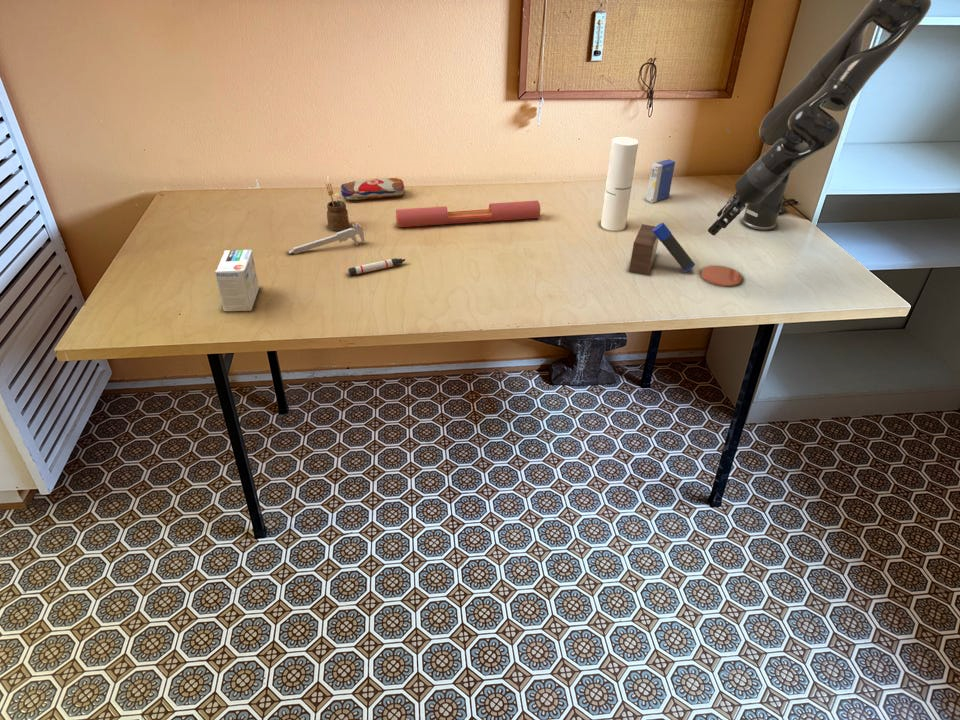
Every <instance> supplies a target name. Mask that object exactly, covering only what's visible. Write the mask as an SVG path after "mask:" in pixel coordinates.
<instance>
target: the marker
mask: <svg viewBox="0 0 960 720" xmlns="http://www.w3.org/2000/svg"><path fill="white" fill-rule="evenodd" d="M405 261H406V258H397V257H395V258H390V259H384V260H381V261H376V262H371V263H366V264H362V265H357V266H353V267H348V269H347V271H348V274H349V276H355V275H360V274H366V273H370V272H375V271H378V270H384V269H388V268H393V267H396V266H399V265H400V264H403V263H404V262H405Z"/></svg>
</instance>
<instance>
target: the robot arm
mask: <svg viewBox="0 0 960 720" xmlns="http://www.w3.org/2000/svg"><path fill="white" fill-rule="evenodd" d="M931 6H932V0H869V1H868V3H867V4H866V5H865V6H864V8H863V9H862V10H861V11H860V13H858V15H857V16H856V17H855V19H854V20H853V22H852V23H851V24H850V25H849V27H848V28H847V29H846V30H845V31H844V32H843V34H841V36H840V37H839V38H838V39H836V41H835V42H834V43H833V44H832V45H831V46H830V47H829V48H828V49H827V51H826V52H825V53H824V54H823V55H822V56H821V57H820V58H819V59H818V60H817V62H815V64H814V65H813V66H812V67H811V68H810V69H809V71H808V72H807V73H806V74H805V75H804V76H803V78H802V79H801V80H800V81H799V82H798V83H797V84H796V85H795V86H794V87H793V88H792V89H791V91H790V92H789V93H787V95H785V97H784V98H783V99H781V100H780V101H779V102H778V103H777V104H776V105H775V106H773V107H772V108H771V109H770V110H769V111H768V112H767V113H766V114H765V116H764V117H763V119H762V120H761V122H760V125H759V130H758V135H759V139H760V141H761V142H762V143H763V144H765V145H768V146H771V147H769V148H768V149H767V150H766V152H763V153H762V154H761V155H760V156H759V157H758V158H757V160H756V161H754V162H753V164H751V166H750V167H748V169H746V171H744V173H742V175H741V176H740V177H739V178H738V179H737V180H736V181H735V183H734V189H735V191H734V192H733V194H732V195H731V196H730V197H729V198H728V200H727V201H726V204H725V205H724V206H723V207H722V208H721V209H720V210H719V211H718V212H717V213H716V216H717V218H716V220H715V221H714V222H713V223H712V224H711V225H710V226H709V228H708V229H707V232H708V233H709V234H710V235H712V236H716V235H717V234H718V233H719V232H720V231H721V230H722V229H726V228H727V227H728V226H729V225H730V224H731V223H732V222H733V221H734V220H735V219H736V218H737V217H738V216H739V215H740V214H741V213H742V212H743V211H744V210H745V211H744V213H743V217H742V220H741V222H742V224H743V225H744V226H745V227H748V228H750V229H754V230H756V231H757V230H758V231H770V230H774V229H775V228H776V226H777V221H778V217H779V216H781V215H783V214H785V213H786V212H787V208H786V207H785V206H784V205H785V204H786V203H794V204H796V205H797V204H799V201H798V200H797V201H795V199H796V198H787V199H785V200H784V197H785V194H786V191H787V187H788V183H789V180H790V177H791V172H792V171H793V169H795V168H796V167H797V166H798V165H799V164H800V163H801V162H803V161H804V160H806V159H808V158H809V157H810V156H811V157H812V155H814V154H816V153H818V152H819V151H821V150H823V149H825V148H827V147H828V146H830V145H832V144H833V143H834V141H836V139H837V138H838V136H839V135H840V132H841V123H840V122H839V120H838V119H836V118H835V117H834V116H832V115H831V114H829V112H828V111H826V110H825V109H827V110H830V111H832V112H843V111H845V110H846V109H848V107H849V106H850V105H852V102H854V100H855V99H856V98H857V96H858V95H859V93H860V92H861V90H862V89H863V88H864V86H865V85H866V83H868V81H869V80H870V79H871V77H872V76H873V75H874V74H875V73H876V72H877V71H878V70H879V69H880V67H881V66H883V64H885V63H886V62H887V60H888V59H889V58H890V57H891V56H892V55H893V54H894V53H895V52H896V50H897V49H898V48H899V47H900V46H901V45H902V44H903V43H904V42H905V40H906V39H907V38H909V36H910V35H911V34H912V33H913V31H915V29H916V28H918V26H919V25H920V23H921V22H922V21H923V20H924V18H925V17H926V16H927V14H928V13H929V10H930V9H931ZM871 23H872V24H874V25H876V26H877V27H878V28H880V29H881V30H882V31H884V32H886V34H888V35H889V36H888V37H886V39H884V40H883V41H882V42H880V43H878V44H876V45H874V46H872V47H870V48H868V49H865V50H863V46H864V41H865V37H866V33H867V31H868V28H869V26H870V24H871ZM823 108H824V109H823Z"/></svg>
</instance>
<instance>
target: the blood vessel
mask: <svg viewBox="0 0 960 720" xmlns="http://www.w3.org/2000/svg"><path fill="white" fill-rule="evenodd" d="M540 215H541V204H540V202H539V200H525V201H509V202H508V201H507V202H491V203H489V205H488V208H487V209H486V208H485V209H473V210H472V209H471V210H456V211H448V206H429V207H416V208H415V207H414V208H400V209H399V208H397V209H395V220H396V221H395V222H396V227H397V228H406V227H407V228H409V227H423V226H437V225H438V226H439V225H450V224H451V225H454V224H467V223H481V222H496V221H497V222H498V221H511V220H512V221H513V220H514V221H515V220H526V219H538V218H540Z"/></svg>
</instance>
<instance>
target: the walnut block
mask: <svg viewBox="0 0 960 720" xmlns="http://www.w3.org/2000/svg"><path fill="white" fill-rule="evenodd" d="M656 226H657V225H651V224H643V223H641V225H640V227H639V230H638V232H637V235H636V237H635V239H634V241H633V245H632V251H631V257H630V264H629V269H628V272H630V273H635V274H640V275H646V276H649V274H650V271H651V269H652V266H653V263H654V261H655V258H656V256H657V255H656V254H657V250H658V244H659V241H660V240H659V239H658V238H657V236H656V235H655V234H654V232H653V231H652V230H653V229H654V228H655V227H656Z"/></svg>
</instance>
